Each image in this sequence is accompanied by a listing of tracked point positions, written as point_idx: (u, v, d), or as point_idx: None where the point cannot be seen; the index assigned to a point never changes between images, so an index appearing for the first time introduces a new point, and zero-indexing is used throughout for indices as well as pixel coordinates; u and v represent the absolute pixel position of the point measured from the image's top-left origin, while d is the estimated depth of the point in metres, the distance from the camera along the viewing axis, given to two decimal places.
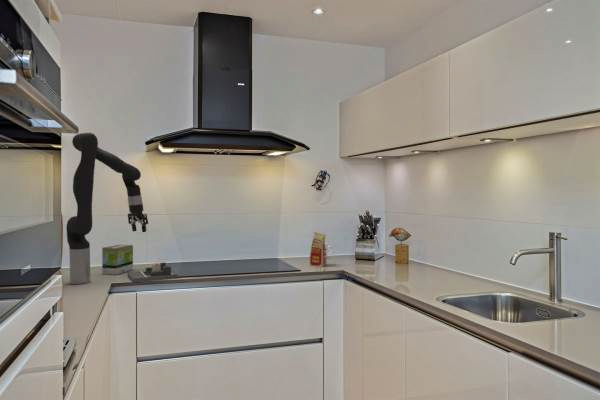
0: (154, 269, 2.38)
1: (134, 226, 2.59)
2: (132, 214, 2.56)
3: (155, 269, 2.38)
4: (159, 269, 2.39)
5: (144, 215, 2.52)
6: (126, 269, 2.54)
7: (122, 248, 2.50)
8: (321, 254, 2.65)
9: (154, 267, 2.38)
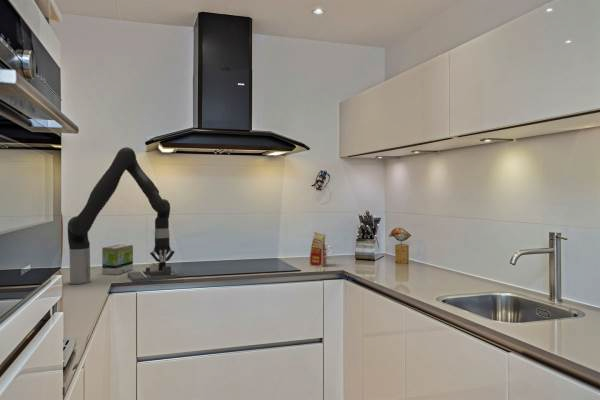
0: (152, 270, 2.37)
1: None
2: None
3: (153, 269, 2.38)
4: (157, 269, 2.39)
5: None
6: (126, 269, 2.54)
7: (122, 248, 2.50)
8: (321, 254, 2.65)
9: (152, 267, 2.37)
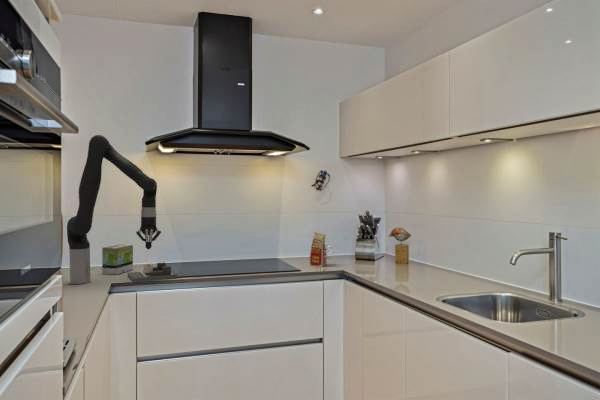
0: (146, 270, 2.36)
1: None
2: None
3: (147, 270, 2.36)
4: (151, 270, 2.37)
5: (136, 233, 2.35)
6: (126, 269, 2.54)
7: (122, 248, 2.50)
8: (321, 254, 2.65)
9: (146, 268, 2.36)
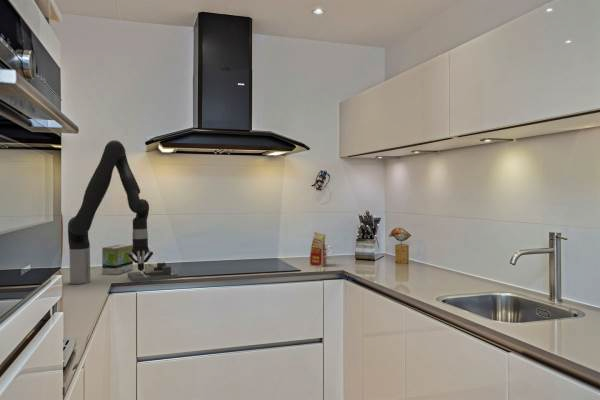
0: (147, 270, 2.36)
1: None
2: None
3: (148, 270, 2.36)
4: (152, 270, 2.37)
5: (128, 255, 2.33)
6: (126, 269, 2.54)
7: (122, 248, 2.50)
8: (321, 254, 2.65)
9: (147, 268, 2.36)
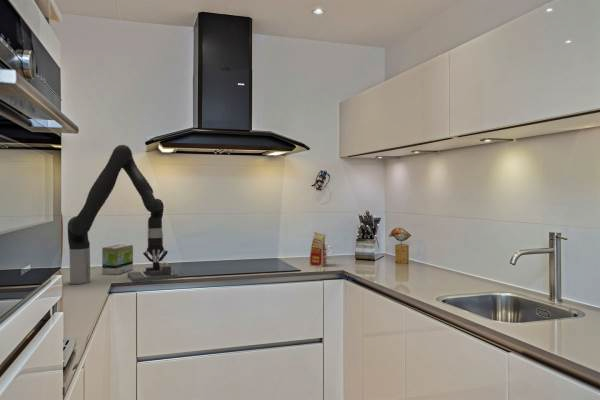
0: None
1: None
2: None
3: None
4: None
5: None
6: (126, 269, 2.54)
7: (122, 248, 2.50)
8: (321, 254, 2.65)
9: (162, 266, 2.40)
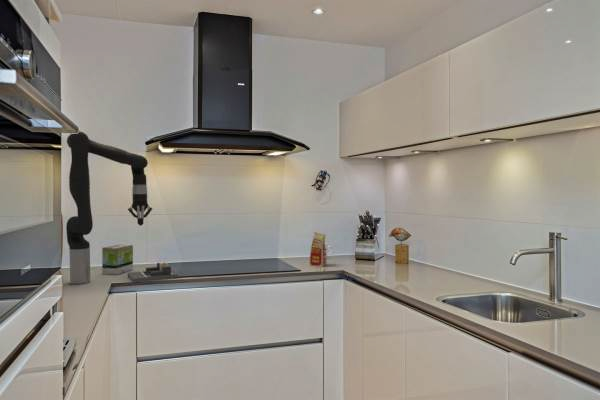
0: None
1: None
2: None
3: None
4: None
5: (128, 210, 2.42)
6: (126, 269, 2.54)
7: (122, 248, 2.50)
8: (321, 254, 2.65)
9: (162, 266, 2.40)
